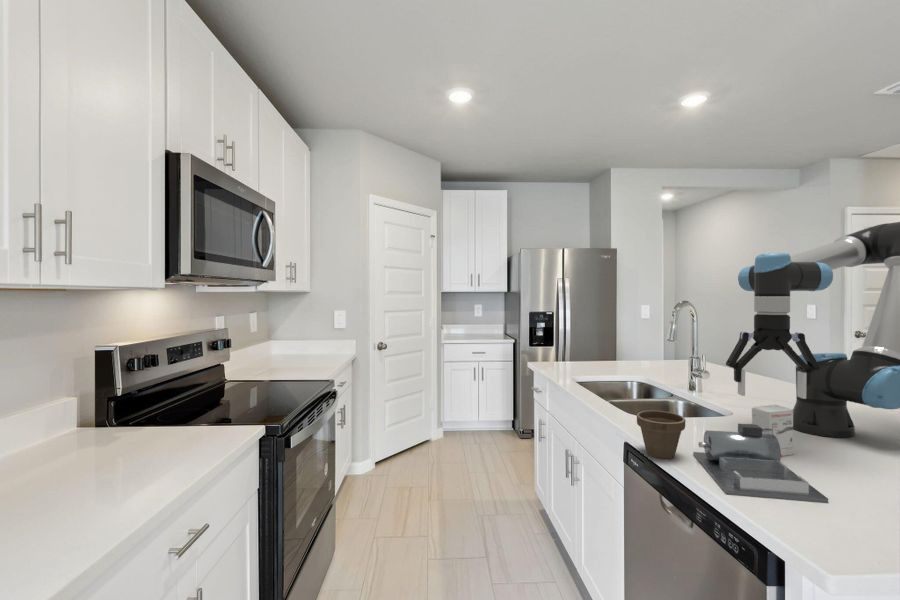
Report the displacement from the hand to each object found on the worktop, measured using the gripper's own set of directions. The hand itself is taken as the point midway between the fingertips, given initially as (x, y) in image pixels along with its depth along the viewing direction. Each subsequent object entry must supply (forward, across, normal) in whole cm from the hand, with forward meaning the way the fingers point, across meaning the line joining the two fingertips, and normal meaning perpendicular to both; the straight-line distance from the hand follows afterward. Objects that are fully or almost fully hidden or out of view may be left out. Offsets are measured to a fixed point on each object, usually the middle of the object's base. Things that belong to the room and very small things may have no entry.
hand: (771, 396), depth 115 cm
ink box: (+15, 0, 0) cm, 15 cm away
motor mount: (+15, +11, +17) cm, 25 cm away
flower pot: (+15, +28, +7) cm, 32 cm away
